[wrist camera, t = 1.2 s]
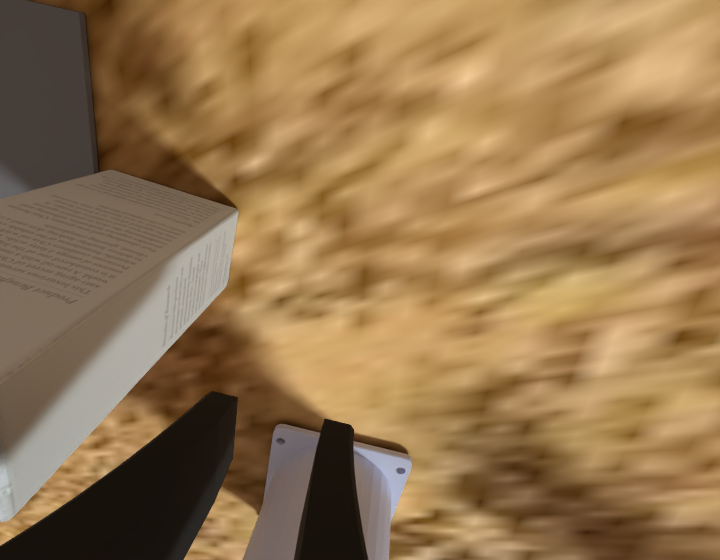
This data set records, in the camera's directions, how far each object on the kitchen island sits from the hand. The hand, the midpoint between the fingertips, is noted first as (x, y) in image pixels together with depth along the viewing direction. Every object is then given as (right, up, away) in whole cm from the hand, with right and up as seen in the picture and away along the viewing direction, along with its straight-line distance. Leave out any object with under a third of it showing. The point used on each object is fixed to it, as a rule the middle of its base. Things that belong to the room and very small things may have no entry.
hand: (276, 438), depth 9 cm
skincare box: (-7, +6, +9) cm, 13 cm away
